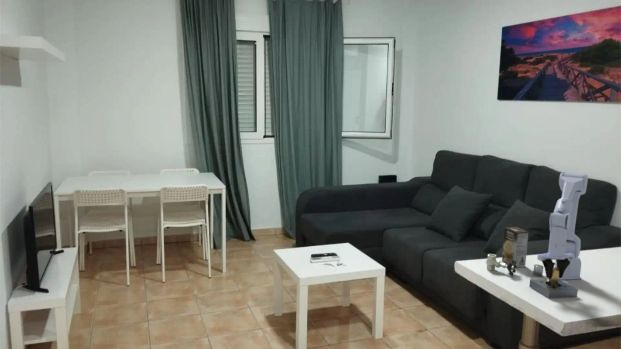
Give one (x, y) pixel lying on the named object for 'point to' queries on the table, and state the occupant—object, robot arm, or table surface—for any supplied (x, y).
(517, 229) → the coffee box
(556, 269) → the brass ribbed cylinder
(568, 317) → the table surface
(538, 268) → the sleeve
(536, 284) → the plate
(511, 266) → the valve
